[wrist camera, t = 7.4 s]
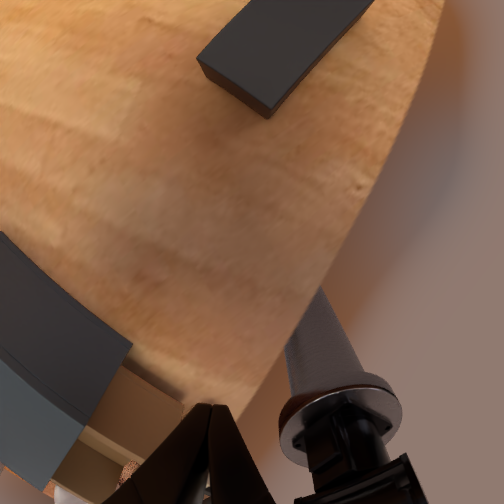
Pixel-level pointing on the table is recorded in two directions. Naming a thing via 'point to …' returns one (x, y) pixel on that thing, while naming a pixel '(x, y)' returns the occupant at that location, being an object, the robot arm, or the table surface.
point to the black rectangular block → (276, 47)
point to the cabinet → (47, 367)
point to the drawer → (118, 437)
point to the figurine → (68, 496)
